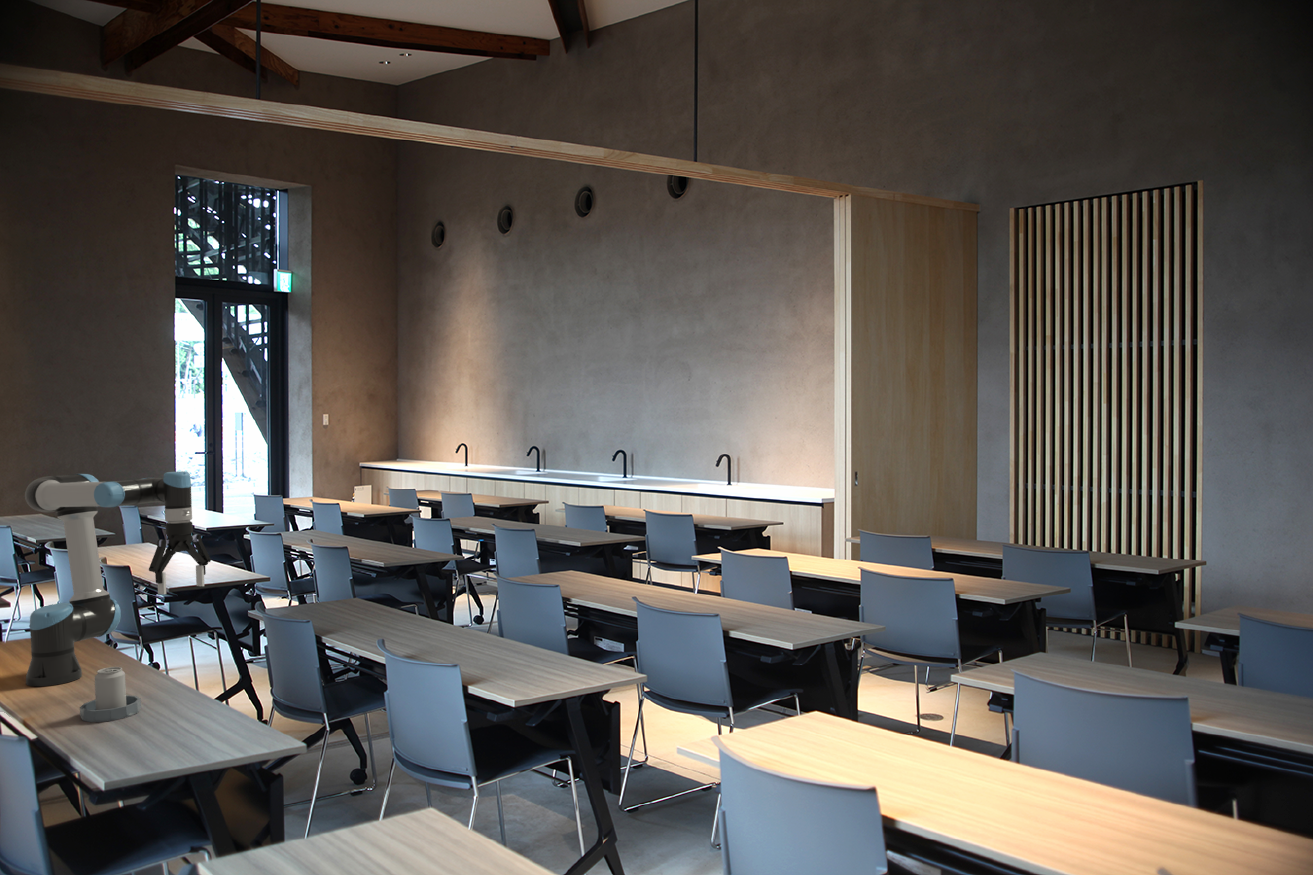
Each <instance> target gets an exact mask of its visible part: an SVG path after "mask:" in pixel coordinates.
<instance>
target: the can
mask: <svg viewBox="0 0 1313 875" xmlns="http://www.w3.org/2000/svg"><path fill="white" fill-rule="evenodd" d="M96 673H97V674H96V675H94V694H95V699H96V710H106V709H113V708H118V707H123V706H126V695H127V690H126V689H127V688H126V672H125V671H124V670H123V667H121V666H110V667H104V668H101V669H98V670H97V671H96ZM95 699H94V700H95Z"/></svg>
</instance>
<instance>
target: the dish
mask: <svg viewBox="0 0 1313 875" xmlns="http://www.w3.org/2000/svg"><path fill="white" fill-rule="evenodd" d="M141 700H142V699H141V697H139V696H138V695H128V694H126V706H123V707H118V708H113V709H106V710H96V699H94V700H89V701H88V702H84V703H83V704H81V706H80V707H79V716H80V719H81V720H82V721H83V722H87V723H103V722H105V723H106V722H112V721H117V720H123V719H126V718H129V717H132V716H134V715H137V714H138V713H139V712H140V711H141V709H142V701H141Z"/></svg>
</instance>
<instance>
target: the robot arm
mask: <svg viewBox="0 0 1313 875" xmlns="http://www.w3.org/2000/svg"><path fill="white" fill-rule="evenodd" d="M24 499H25V502H26V504H27V505H28V506H29V507H30V508H31V509H32V510H34V511H36V512H40V513H41V512H42V513H56V516H57V519H58V520H60V521H61V522H63V527H64V528H63V529H64V536H65V541H66V549H67V556H68V563H69V568H70V569H69V570H70V577H71V583H72V590H73V594H72V596H71V597H70V599H69V602H58V603H55V604H53V603H52V604H48V605H45V606H41V607H39V608H37V609H35V610H34V611H32V613H31V614H30V616H29V632H30V633H29V634H30V649H31V654H30V655H31V659H30V663H29V666H28V669H27V671H26V672H27V673H26V676H25V684H26V686H29V687H47V686H48V687H49V686H56V685H62V684H66V683H70V682H73V681H76V680H79V679H80V678H82V676H83V672H82V667H81V665H80V663H79V661H78V658H77V656H76V653H75V643H78V642H81V641H85V640H89V639H95V638H100V637H103V636H106V635H108V634H111V633H113V632H114V631H115V630H116V629H117V627H118V626H119V624H120V621H121V614H122V611H121V607H120V605H119V603H118V601H117V600H116V599H114V598H112V597H111V595H110V592H108V591H107V590H105V588H104V584H103V576H102V569H101V562H100V554H99V548H98V542H97V536H96V534H97V533H96V527H95V519H94V517H95V516H96V515H97V514H98V512H99V511H98V508H99V507H101V508H115V507H121V506H122V507H123V506H130V505H140V504H141V505H142V504H148V503H151V504H152V503H164V521H165V522H166V523H165V534H166V539H158V540H157V542H156V549H155V552H154V554H153V556H152V557H153V558H152V559H151V561H150V562H151V563H150V565H149V567H148V571H149V572H150V573H151V572H152V573H155V574H154V575H155V576H154V577H155V583H156V584H157V594H158V595H167V580H166V578H167V577H166V575H167V574H166V572H164V570H166V568H167V566H168V564H169V563H170V561H171V559H172V557H173V556H174V555H175V554H176V553H181V552H187V553H188V554H189V556H190V557H191V558H192V559H193V560H194V561H195V562H196V563H197V565H195V580H196V587H205V576H206V573H207V572H206V571H207V570H206V566H208V564H209V563H211V562H212V558H211V556H210V555H209V553H208V551H207V548H206V547H205V545H204V542H203V540H202V535H201V534H193V532H194V530H193V528H194V527H193V521H191V520H192V519H193V508H192V507H193V506H192V481H191V474H190V473H189V472H188V471H183V470H181V471H167V472H165V473H164V474H163V477H162V478H161V477H150V476H149V477H145V478H139V479H129V480H117V481H116V480H114V481H113V480H112V481H99V479H97V478H96V477H95V476H93V475H92V474H89V473H74V474H62V475H61V474H60V475H51V476H50V475H49V476H42V477H37V479H35V480H34V479H33V481H31V482H30V483H29V484H28V485H27V487H26V489H25V492H24ZM193 544H194V545H193ZM194 546H195V547H194Z"/></svg>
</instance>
